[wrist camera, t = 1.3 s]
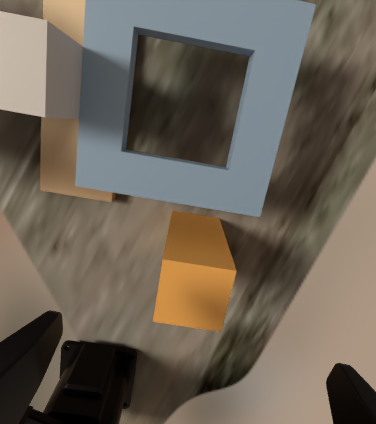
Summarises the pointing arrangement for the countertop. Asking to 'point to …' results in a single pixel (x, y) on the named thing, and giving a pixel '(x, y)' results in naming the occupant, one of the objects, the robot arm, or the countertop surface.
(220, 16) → the bracket
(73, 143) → the board
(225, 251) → the orange square post
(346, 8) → the countertop surface
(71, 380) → the robot arm
